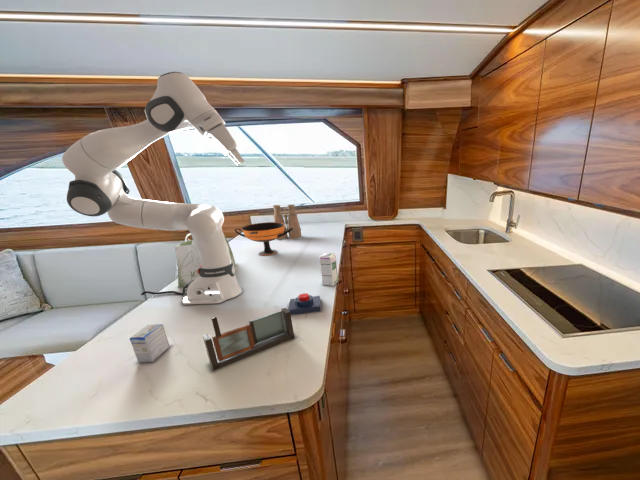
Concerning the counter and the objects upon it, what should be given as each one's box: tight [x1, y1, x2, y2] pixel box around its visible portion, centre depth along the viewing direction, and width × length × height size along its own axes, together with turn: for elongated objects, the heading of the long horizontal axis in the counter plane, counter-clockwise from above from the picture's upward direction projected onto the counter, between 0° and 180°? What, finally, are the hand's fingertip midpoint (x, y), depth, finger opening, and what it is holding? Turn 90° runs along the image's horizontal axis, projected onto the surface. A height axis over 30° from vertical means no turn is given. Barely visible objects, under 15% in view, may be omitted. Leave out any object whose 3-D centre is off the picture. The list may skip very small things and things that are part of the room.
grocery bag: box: [174, 232, 236, 288], centre depth 153 cm, size 32×14×23 cm, turn 4°
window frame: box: [201, 307, 295, 372], centre depth 92 cm, size 24×4×10 cm, turn 132°
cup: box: [234, 221, 293, 256], centre depth 190 cm, size 36×26×18 cm
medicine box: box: [129, 323, 170, 363], centre depth 91 cm, size 8×4×9 cm, turn 5°
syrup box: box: [318, 252, 339, 286], centre depth 141 cm, size 6×6×14 cm
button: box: [297, 292, 310, 301], centre depth 119 cm, size 4×4×2 cm
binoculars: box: [272, 204, 303, 240], centre depth 226 cm, size 21×10×25 cm, turn 93°
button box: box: [287, 294, 321, 316], centre depth 120 cm, size 12×10×4 cm
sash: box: [210, 316, 255, 362], centre depth 87 cm, size 10×1×14 cm, turn 132°
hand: (240, 163), depth 104 cm, fingers open, 8 cm apart
